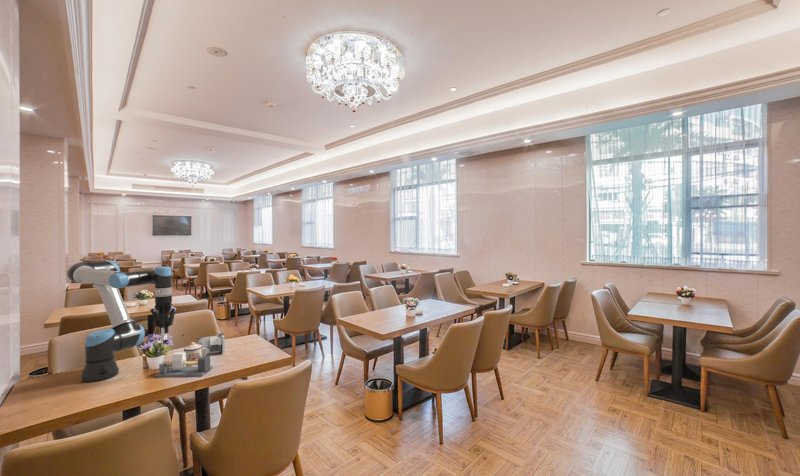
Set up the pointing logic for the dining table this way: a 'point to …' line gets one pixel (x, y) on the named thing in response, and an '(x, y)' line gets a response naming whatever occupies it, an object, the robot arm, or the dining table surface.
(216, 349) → the toy buggy
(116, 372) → the robot arm
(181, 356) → the marker sleeve
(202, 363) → the grey stepped fixture
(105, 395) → the dining table surface
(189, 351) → the teacup with lid
